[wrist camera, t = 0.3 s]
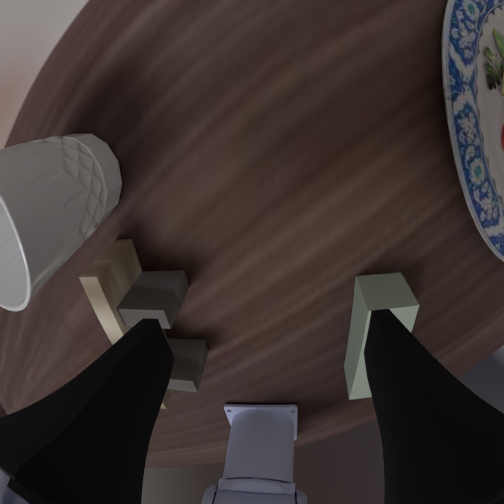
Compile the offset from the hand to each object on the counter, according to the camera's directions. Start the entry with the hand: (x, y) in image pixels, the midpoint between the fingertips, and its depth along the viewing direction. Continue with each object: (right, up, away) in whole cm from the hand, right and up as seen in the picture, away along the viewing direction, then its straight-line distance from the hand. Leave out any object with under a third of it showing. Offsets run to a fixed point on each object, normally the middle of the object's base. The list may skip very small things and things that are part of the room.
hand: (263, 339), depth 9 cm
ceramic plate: (+23, +14, +2) cm, 27 cm away
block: (+9, -3, +12) cm, 16 cm away
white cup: (-12, +8, +8) cm, 17 cm away
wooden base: (-7, -2, +13) cm, 15 cm away
